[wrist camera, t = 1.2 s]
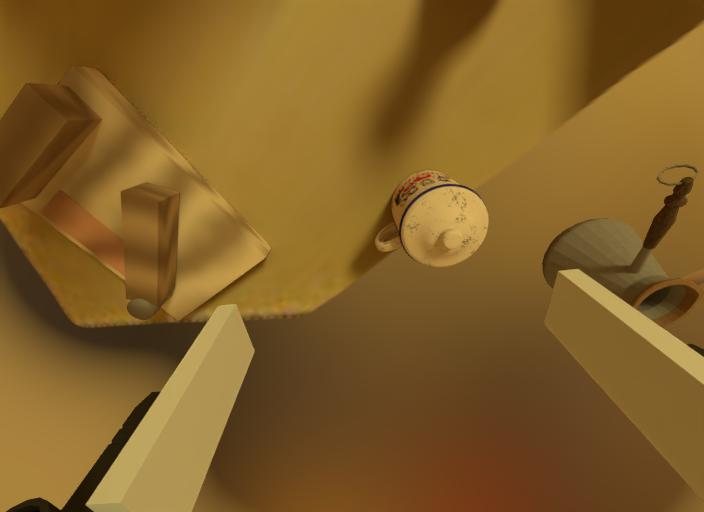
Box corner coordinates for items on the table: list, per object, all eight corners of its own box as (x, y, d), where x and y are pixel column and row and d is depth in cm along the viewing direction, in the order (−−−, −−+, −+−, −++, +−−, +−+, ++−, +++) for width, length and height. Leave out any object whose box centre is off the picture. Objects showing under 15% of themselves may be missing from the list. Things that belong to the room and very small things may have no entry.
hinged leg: (146, 182, 31) (117, 192, 27) (179, 192, 32) (155, 203, 28) (147, 295, 39) (124, 315, 35) (174, 301, 39) (155, 322, 35)
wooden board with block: (16, 173, 34) (-59, 187, 28) (97, 68, 29) (28, 57, 23) (189, 308, 44) (162, 340, 38) (271, 247, 39) (256, 273, 33)
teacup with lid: (445, 153, 33) (488, 173, 23) (468, 216, 37) (513, 258, 27) (357, 200, 36) (359, 237, 26) (387, 254, 40) (399, 305, 29)
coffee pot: (621, 263, 41) (752, 338, 27) (540, 294, 43) (624, 376, 30) (607, 121, 32) (792, 130, 18) (507, 170, 34) (606, 209, 21)
